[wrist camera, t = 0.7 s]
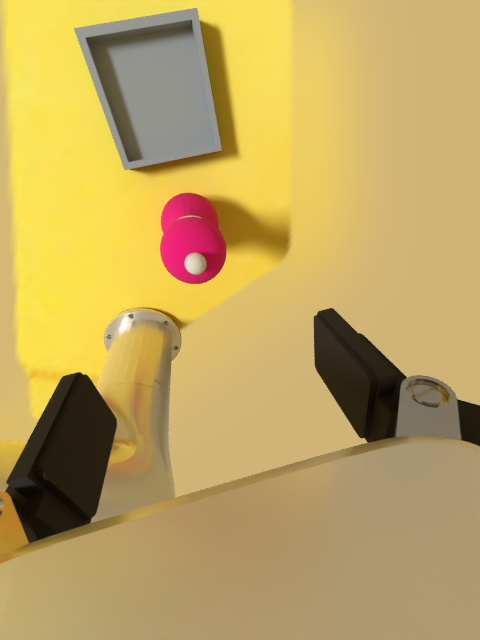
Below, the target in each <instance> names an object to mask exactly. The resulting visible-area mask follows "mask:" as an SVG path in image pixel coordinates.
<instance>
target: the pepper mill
mask: <svg viewBox="0 0 480 640" xmlns="http://www.w3.org/2000/svg"><path fill="white" fill-rule="evenodd" d="M161 225H162V230H163V234H164V235H163V237H162V240H161V244H160V252H161V258H162V261H163V263H164V266H165V267H166V269H167V270H168V272H169V273H170V274H171V275H172V276H174V277H175V278H177V279H178V280H180V281H182V282H185V283H190V284H200V283H204V282H207V281H209V280H211V279H212V278H214V277H215V276H216V275H217V274H218V273H219V272H220V270H221V269H222V267H223V265H224V263H225V259H226V244H225V241H224V238H223V236H222V234H221V233H220V231H219V230H218V218H217V214H216V211H215V209H214V208H213V206H212V205H211V204H210V202H209V201H208V200H206V199H205V198H204V197H202V196H200V195H197V194H194V193H182V194H179V195H176V196H175V197H173V198H172V199H170V200H169V201H168V202H167V204H166V205H165V207H164V209H163V212H162V216H161Z"/></svg>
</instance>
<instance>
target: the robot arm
mask: <svg viewBox="0 0 480 640" xmlns="http://www.w3.org/2000/svg"><path fill="white" fill-rule="evenodd" d="M104 344H105V347H106V350H107V351H108V355H107V357H106V360H105V363H104V366H103V368H102V371H101V374H100V377H99V379H98V382H97V385H96V387H95V386H94V384H93V383H92V381H91V380H90V378H89V377H88V376H87V375H83V374H82V373H80V372H78V373H74V374H70V375H66V376H64V377H62V378H61V380H60V382H59V384H58V386H57V387H56V389H55V391H54V393H53V395H52V397H51V399H50V401H49V402H48V404H47V406H46V408H45V410H44V412H43V414H42V416H41V417H40V419H39V421H38V423H37V425H36V427H35V429H34V431H33V433H32V434H31V436H30V438H29V440H28V442H25V441H7V442H0V640H480V406H479V405H476V404H471V403H468V402H465V401H461V400H458V399H457V398H456V395H455V393H454V392H453V390H452V389H451V388H450V387H449V386H448V385H446V384H445V383H444V382H442V381H439V380H438V379H435V378H432V377H428V376H421V375H417V376H411V377H408V378H407V377H406V376H405V375H404V374H403V373H402V372H401V371H400V370H399V369H398V368H397V367H396V366H395V365H393V363H391V362H390V361H389V360H388V359H387V358H386V357H385V356H384V355H383V354H382V353H381V352H380V351H379V350H378V349H377V348H376V347H375V346H374V345H373V344H372V343H371V342H370V341H369V340H368V339H367V338H366V337H364V336H363V335H362V334H360V333H357V332H356V331H355V330H354V329H353V328H352V327H351V326H350V325H349V324H348V323H347V322H346V321H345V320H344V319H343V318H342V317H341V316H340V315H339V314H338V313H337V312H336V311H335V310H334V309H332V308H330V309H326V310H322V311H319V312H318V314H317V315H316V316H314V349H315V350H314V353H315V367H316V370H317V372H318V373H319V375H320V376H321V378H322V380H323V381H324V383H325V384H326V385H327V387H328V389H329V391H330V392H331V394H332V395H333V397H334V398H335V400H336V402H337V403H338V405H339V406H340V407H341V409H342V411H343V413H344V414H345V416H346V417H347V419H348V420H349V422H350V423H351V425H352V427H353V428H354V430H355V431H356V433H357V434H358V436H359V437H360V438H365V439H366V441H367V442H368V443H366V444H361V445H358V446H354V447H350V448H347V449H343V450H339V451H335V452H332V453H328V454H324V455H321V456H317V457H314V458H310V459H307V460H304V461H300V462H296V463H293V464H290V465H286V466H283V467H279V468H276V469H272V470H269V471H265V472H262V473H259V474H255V475H251V476H248V477H245V478H242V479H238V480H235V481H231V482H228V483H224V484H221V485H217V486H214V487H211V488H207V489H204V490H200V491H197V492H194V493H190V494H187V495H183V496H180V497H177V498H175V490H174V481H173V475H172V468H171V462H170V455H169V441H168V425H169V422H168V421H169V398H170V397H169V396H170V375H171V361H172V360H173V359H174V358H175V357H176V356H177V354H178V352H179V350H180V347H181V333H180V331H179V328H178V326H177V325H176V323H175V322H174V321H173V320H172V319H171V318H170V317H168V316H167V315H165V314H163V313H161V312H159V311H156V310H153V309H147V308H135V309H130V310H126V311H124V312H121V313H120V314H118V315H116V316H115V317H114V318H113V319H112V320H111V321H110V323H109V324H108V326H107V328H106V330H105V334H104Z"/></svg>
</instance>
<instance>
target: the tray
mask: <svg viewBox="0 0 480 640" xmlns="http://www.w3.org/2000/svg"><path fill="white" fill-rule="evenodd" d="M74 30H75V33H76V35H77V38H78V41H79V44H80V47H81V49H82V52H83V55H84V58H85V60H86V63H87V66H88V69H89V72H90V74H91V77H92V80H93V83H94V86H95V88H96V91H97V94H98V97H99V100H100V102H101V105H102V108H103V111H104V114H105V116H106V119H107V122H108V125H109V128H110V130H111V133H112V136H113V139H114V142H115V144H116V147H117V150H118V153H119V156H120V158H121V161H122V164H123V167H124V170H128V169H133V168H138V167H143V166H148V165H153V164H158V163H163V162H168V161H173V160H177V159H182V158H187V157H192V156H197V155H202V154H207V153H212V152H217V151H222V148H221V142H220V136H219V131H218V125H217V119H216V113H215V108H214V102H213V96H212V90H211V85H210V79H209V73H208V67H207V62H206V56H205V50H204V44H203V39H202V33H201V27H200V21H199V16H198V10H197V8H193V9H187V10H181V11H175V12H169V13H163V14H157V15H152V16H146V17H140V18H134V19H128V20H122V21H116V22H110V23H104V24H98V25H92V26H86V27H80V28H74Z"/></svg>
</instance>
